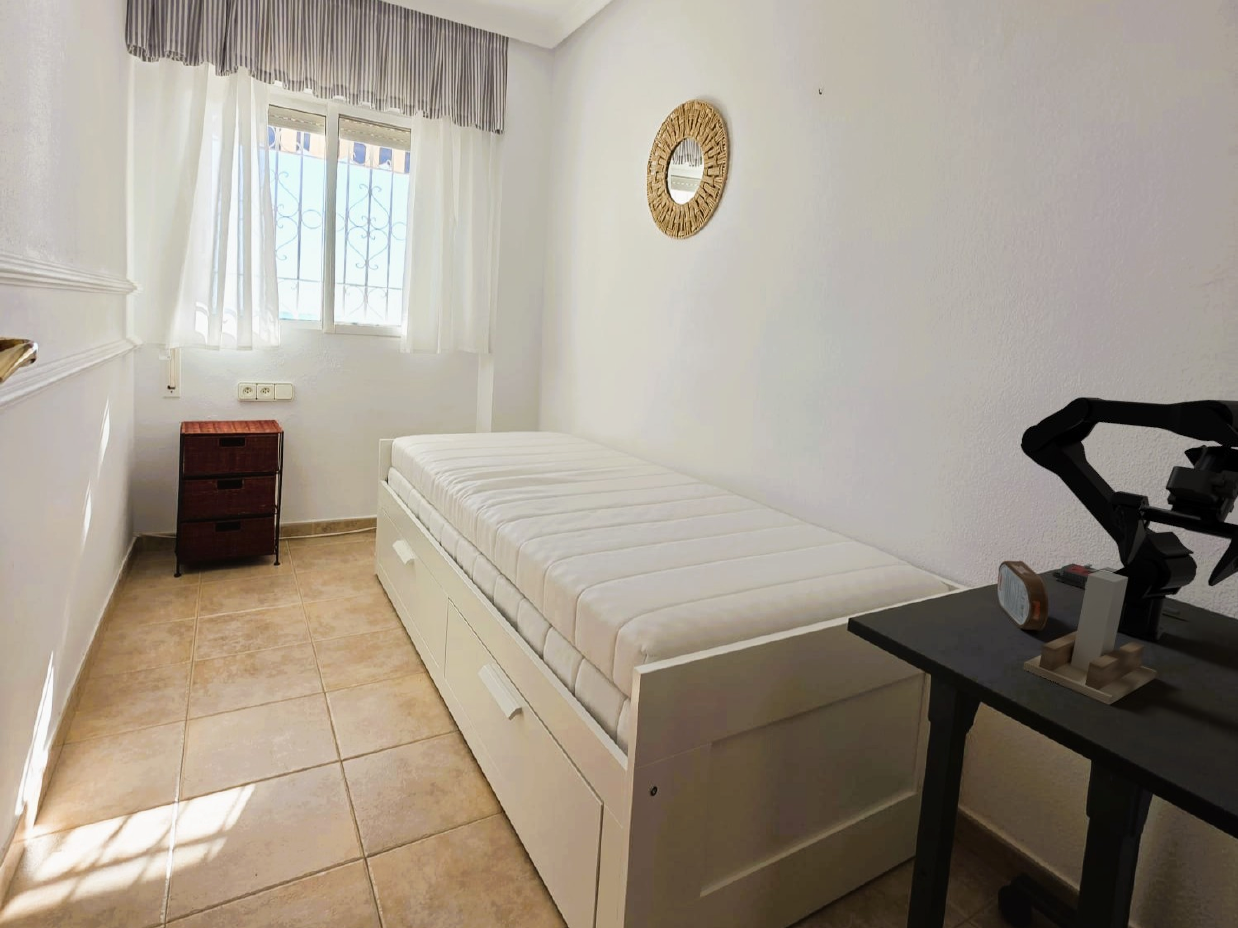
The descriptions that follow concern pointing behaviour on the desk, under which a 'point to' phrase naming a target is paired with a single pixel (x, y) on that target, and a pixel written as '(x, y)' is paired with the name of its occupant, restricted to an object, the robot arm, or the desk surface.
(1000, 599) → the tin
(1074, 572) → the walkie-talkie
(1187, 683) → the desk surface
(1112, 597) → the clay bar
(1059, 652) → the rack
